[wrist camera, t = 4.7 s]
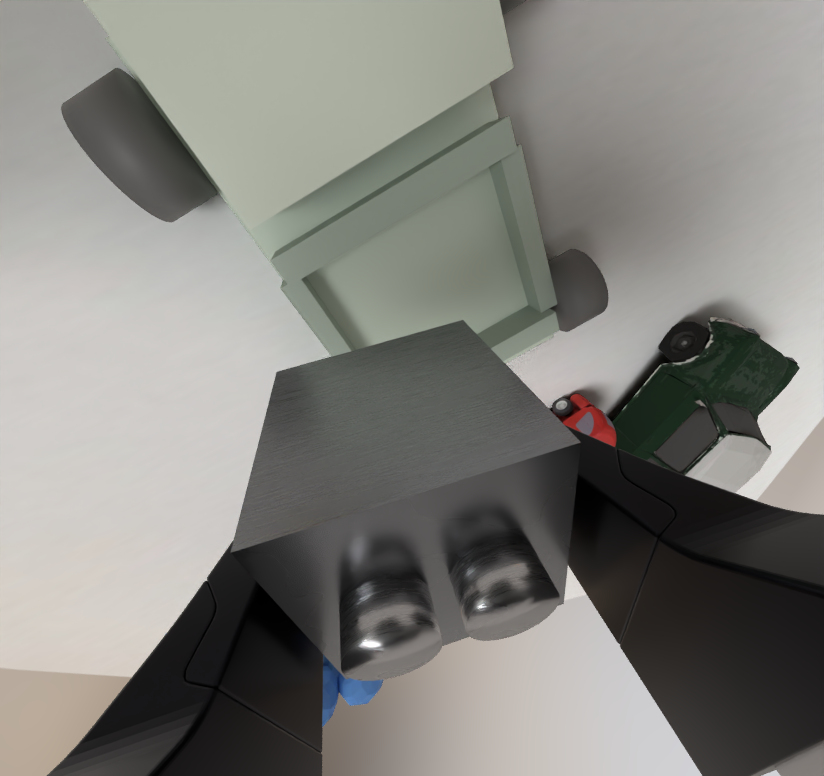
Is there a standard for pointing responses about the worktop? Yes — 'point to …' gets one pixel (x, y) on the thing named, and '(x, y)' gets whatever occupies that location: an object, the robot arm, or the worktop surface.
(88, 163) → the worktop surface
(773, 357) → the miniature car
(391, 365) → the block
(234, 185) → the chassis
